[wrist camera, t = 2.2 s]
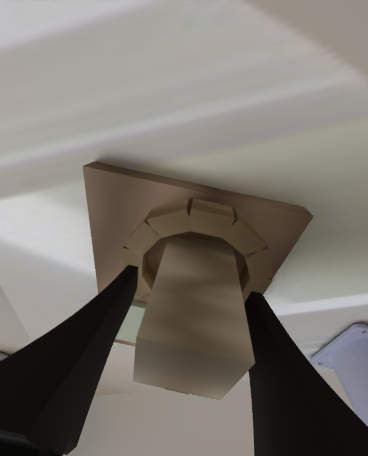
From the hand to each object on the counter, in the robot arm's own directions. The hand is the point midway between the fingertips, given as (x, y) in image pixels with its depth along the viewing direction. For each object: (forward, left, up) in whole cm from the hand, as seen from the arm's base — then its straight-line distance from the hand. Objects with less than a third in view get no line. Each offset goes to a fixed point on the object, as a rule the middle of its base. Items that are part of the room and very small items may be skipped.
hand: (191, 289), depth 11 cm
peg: (0, 0, -3) cm, 3 cm away
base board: (+1, +5, -4) cm, 6 cm away
